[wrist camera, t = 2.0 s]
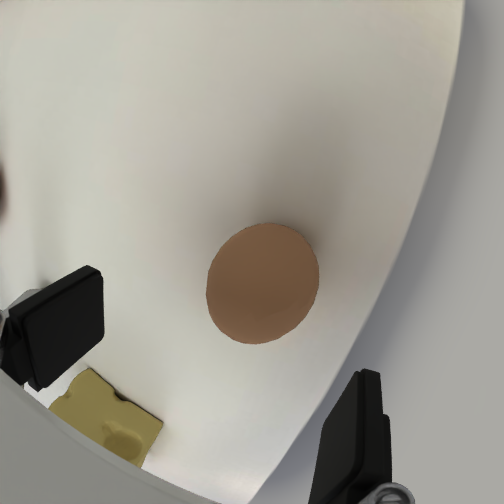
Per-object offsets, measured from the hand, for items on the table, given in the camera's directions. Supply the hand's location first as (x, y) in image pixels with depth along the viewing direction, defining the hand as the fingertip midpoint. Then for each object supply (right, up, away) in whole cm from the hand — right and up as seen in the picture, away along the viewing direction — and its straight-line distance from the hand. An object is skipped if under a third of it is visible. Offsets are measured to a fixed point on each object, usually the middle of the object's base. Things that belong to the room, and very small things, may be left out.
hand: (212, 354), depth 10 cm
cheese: (-14, -15, +21) cm, 29 cm away
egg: (+3, +3, +9) cm, 10 cm away
